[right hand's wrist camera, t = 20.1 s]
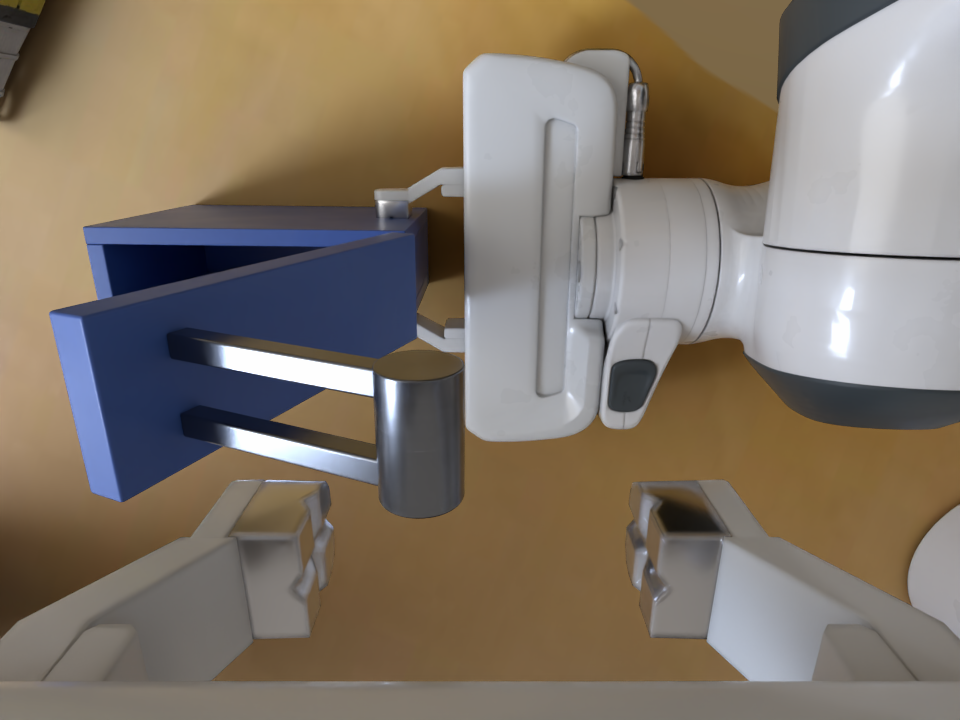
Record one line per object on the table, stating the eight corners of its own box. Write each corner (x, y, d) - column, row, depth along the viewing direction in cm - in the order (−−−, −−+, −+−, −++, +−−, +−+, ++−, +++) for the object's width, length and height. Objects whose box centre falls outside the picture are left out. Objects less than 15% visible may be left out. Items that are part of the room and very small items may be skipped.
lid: (90, 493, 15) (410, 598, 12) (46, 310, 14) (402, 371, 10) (396, 335, 28) (591, 363, 25) (392, 231, 27) (600, 247, 23)
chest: (203, 280, 39) (103, 328, 29) (191, 204, 37) (82, 226, 27) (428, 283, 39) (408, 332, 28) (427, 207, 37) (405, 230, 27)
